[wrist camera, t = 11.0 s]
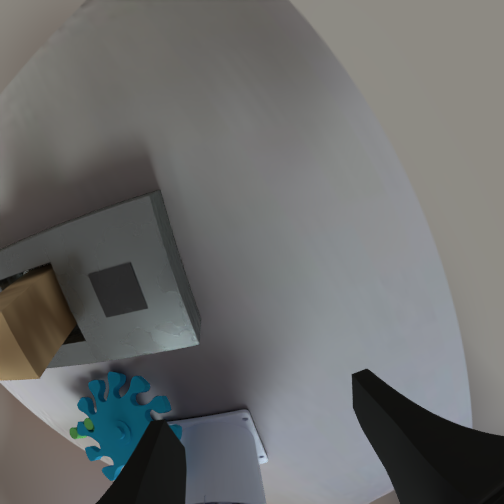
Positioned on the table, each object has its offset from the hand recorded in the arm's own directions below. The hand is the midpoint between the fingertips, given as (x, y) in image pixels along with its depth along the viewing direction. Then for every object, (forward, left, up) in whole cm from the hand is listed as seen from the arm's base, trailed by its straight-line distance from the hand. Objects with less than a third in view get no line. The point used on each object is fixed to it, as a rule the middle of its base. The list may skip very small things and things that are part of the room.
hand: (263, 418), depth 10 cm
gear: (-8, +12, -11) cm, 18 cm away
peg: (+4, +13, -10) cm, 17 cm away
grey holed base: (+4, +13, -10) cm, 17 cm away
